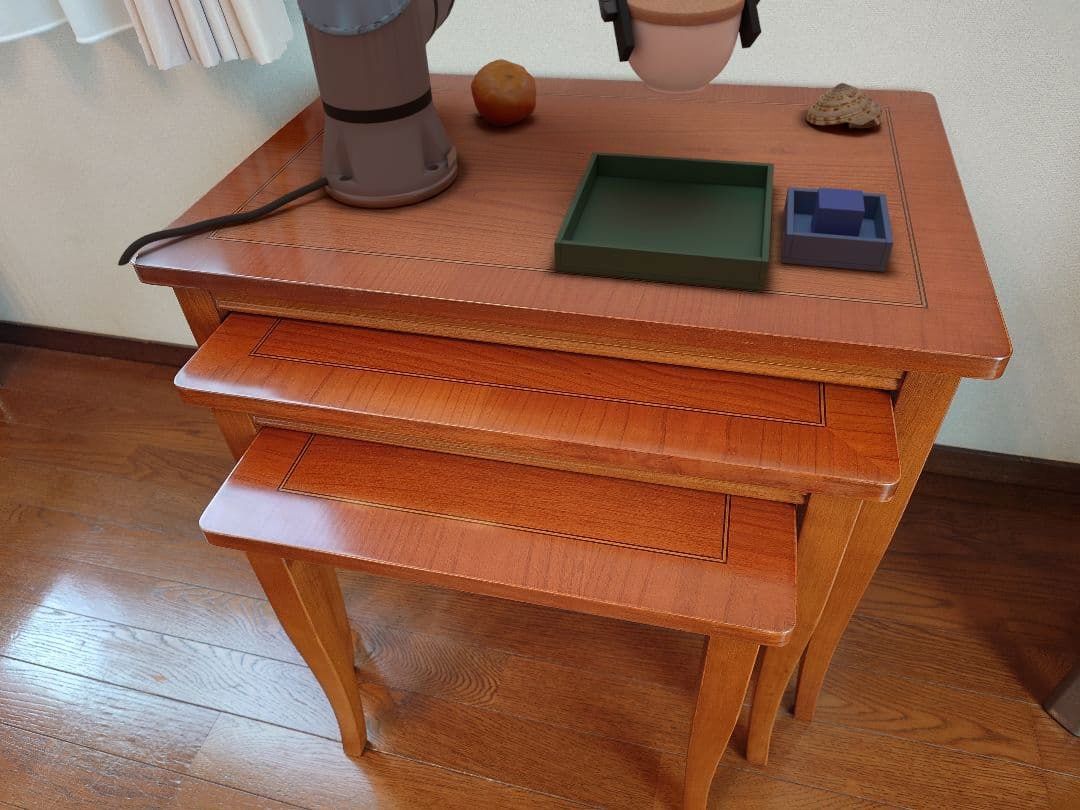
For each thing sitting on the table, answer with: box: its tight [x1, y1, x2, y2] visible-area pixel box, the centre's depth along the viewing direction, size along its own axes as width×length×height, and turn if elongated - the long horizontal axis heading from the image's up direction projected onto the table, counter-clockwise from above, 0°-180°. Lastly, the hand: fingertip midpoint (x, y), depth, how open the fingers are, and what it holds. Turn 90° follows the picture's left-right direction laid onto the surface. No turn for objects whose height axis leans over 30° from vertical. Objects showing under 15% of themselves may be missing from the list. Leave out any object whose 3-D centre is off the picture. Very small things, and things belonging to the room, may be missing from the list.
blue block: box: [811, 187, 865, 237], centre depth 76 cm, size 4×4×4 cm
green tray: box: [553, 151, 775, 292], centre depth 80 cm, size 19×19×3 cm
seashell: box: [805, 82, 884, 129], centre depth 97 cm, size 8×6×8 cm
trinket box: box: [627, 0, 745, 96], centre depth 72 cm, size 11×11×9 cm
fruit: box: [470, 58, 537, 128], centre depth 100 cm, size 8×8×8 cm
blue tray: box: [781, 186, 894, 273], centre depth 76 cm, size 9×9×3 cm
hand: (690, 47), depth 70 cm, fingers closed on trinket box, 11 cm apart
